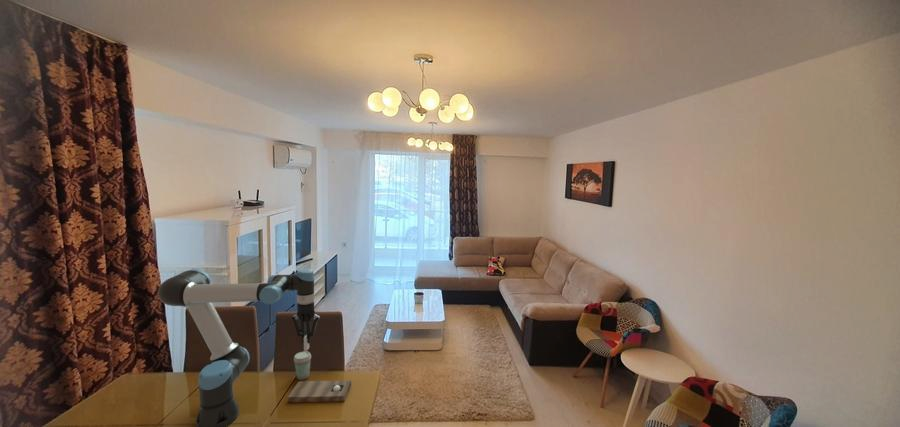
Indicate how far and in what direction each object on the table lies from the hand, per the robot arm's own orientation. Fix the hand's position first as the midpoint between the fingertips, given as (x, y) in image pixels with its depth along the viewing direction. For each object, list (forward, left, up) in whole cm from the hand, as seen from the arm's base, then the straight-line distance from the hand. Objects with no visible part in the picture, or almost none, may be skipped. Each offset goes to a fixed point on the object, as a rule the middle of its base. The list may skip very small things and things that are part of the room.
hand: (306, 349), depth 157 cm
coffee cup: (-7, +12, -22) cm, 26 cm away
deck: (+7, -2, -22) cm, 23 cm away
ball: (+14, -2, -20) cm, 25 cm away
